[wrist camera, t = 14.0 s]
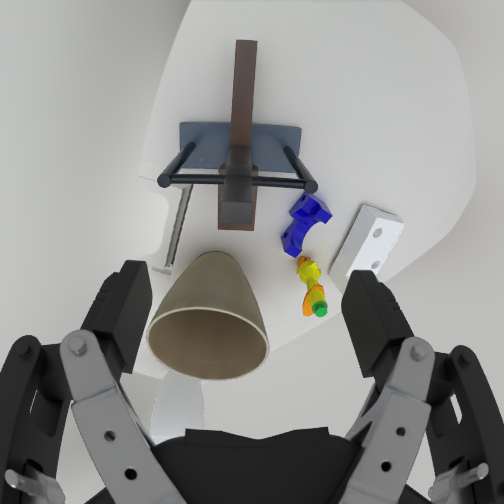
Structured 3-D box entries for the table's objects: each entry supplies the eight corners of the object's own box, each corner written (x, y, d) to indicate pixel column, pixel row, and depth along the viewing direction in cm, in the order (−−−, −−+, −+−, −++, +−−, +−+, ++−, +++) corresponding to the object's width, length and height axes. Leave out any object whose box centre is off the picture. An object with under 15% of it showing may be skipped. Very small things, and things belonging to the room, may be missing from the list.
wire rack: (181, 122, 32) (144, 146, 20) (299, 127, 33) (334, 154, 21) (181, 165, 35) (150, 213, 23) (294, 170, 36) (322, 220, 24)
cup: (157, 340, 55) (137, 432, 37) (204, 339, 55) (195, 438, 37) (171, 367, 61) (158, 449, 43) (213, 366, 60) (209, 453, 43)
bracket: (358, 274, 48) (380, 304, 42) (327, 274, 45) (350, 306, 39) (392, 212, 41) (422, 238, 35) (362, 204, 38) (394, 233, 32)
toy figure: (307, 280, 47) (322, 335, 37) (287, 278, 46) (298, 333, 36) (319, 247, 43) (340, 300, 33) (298, 243, 43) (314, 297, 33)
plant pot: (227, 211, 39) (220, 286, 26) (278, 280, 46) (290, 360, 33) (151, 258, 43) (121, 334, 30) (206, 314, 50) (198, 389, 37)
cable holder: (306, 190, 38) (312, 201, 34) (324, 203, 39) (332, 215, 36) (272, 231, 41) (275, 246, 38) (291, 243, 42) (295, 258, 39)
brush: (266, 44, 22) (287, 7, 10) (253, 218, 34) (259, 305, 22) (226, 42, 22) (211, 3, 10) (219, 217, 33) (207, 303, 21)
